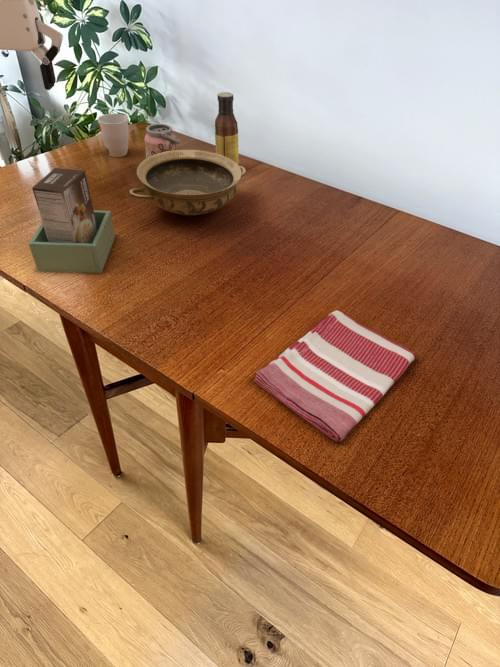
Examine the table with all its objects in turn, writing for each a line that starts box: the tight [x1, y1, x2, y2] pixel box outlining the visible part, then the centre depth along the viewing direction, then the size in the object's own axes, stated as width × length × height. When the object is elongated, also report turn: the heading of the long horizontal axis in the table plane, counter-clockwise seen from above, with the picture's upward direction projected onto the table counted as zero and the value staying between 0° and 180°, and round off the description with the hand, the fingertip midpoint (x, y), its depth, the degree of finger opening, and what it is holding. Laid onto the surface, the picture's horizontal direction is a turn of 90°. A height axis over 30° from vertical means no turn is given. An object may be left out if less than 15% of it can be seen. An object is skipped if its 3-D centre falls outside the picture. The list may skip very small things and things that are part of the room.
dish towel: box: [253, 309, 417, 443], centre depth 75 cm, size 17×23×3 cm
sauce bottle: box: [214, 91, 240, 165], centre depth 124 cm, size 6×6×20 cm
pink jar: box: [143, 123, 181, 159], centre depth 124 cm, size 9×8×12 cm
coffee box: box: [31, 167, 98, 244], centre depth 92 cm, size 9×6×16 cm
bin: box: [28, 209, 116, 274], centre depth 95 cm, size 13×14×7 cm
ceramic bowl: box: [128, 149, 247, 217], centre depth 110 cm, size 30×24×10 cm
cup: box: [97, 113, 130, 158], centre depth 132 cm, size 8×8×10 cm
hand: (22, 85), depth 82 cm, fingers open, 9 cm apart
